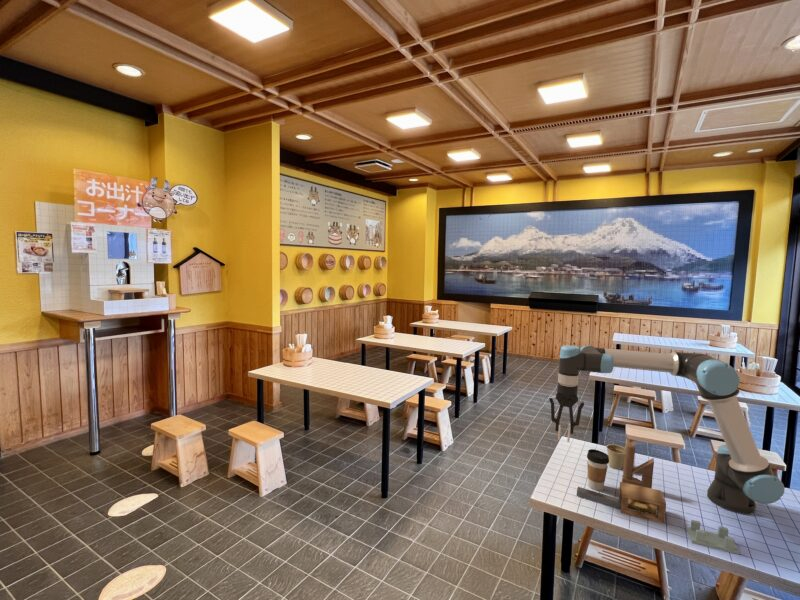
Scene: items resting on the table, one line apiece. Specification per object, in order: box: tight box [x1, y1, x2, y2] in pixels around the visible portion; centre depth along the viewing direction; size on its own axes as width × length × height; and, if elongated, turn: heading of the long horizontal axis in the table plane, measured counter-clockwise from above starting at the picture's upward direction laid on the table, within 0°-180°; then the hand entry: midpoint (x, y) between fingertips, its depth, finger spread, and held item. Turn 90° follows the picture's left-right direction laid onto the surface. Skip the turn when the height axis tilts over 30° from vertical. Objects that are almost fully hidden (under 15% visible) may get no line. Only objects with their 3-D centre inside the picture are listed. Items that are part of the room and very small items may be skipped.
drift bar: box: [576, 486, 622, 511], centre depth 159 cm, size 17×3×3 cm, turn 59°
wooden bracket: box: [621, 443, 655, 489], centre depth 169 cm, size 4×11×18 cm, turn 60°
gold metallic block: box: [628, 499, 658, 515], centre depth 154 cm, size 10×5×5 cm, turn 67°
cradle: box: [685, 519, 740, 555], centre depth 138 cm, size 13×8×4 cm, turn 67°
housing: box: [618, 481, 667, 524], centre depth 154 cm, size 14×9×8 cm
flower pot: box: [605, 444, 625, 470], centre depth 188 cm, size 9×9×9 cm
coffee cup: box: [586, 448, 609, 492], centre depth 169 cm, size 8×8×15 cm
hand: (563, 439), depth 163 cm, fingers open, 3 cm apart
